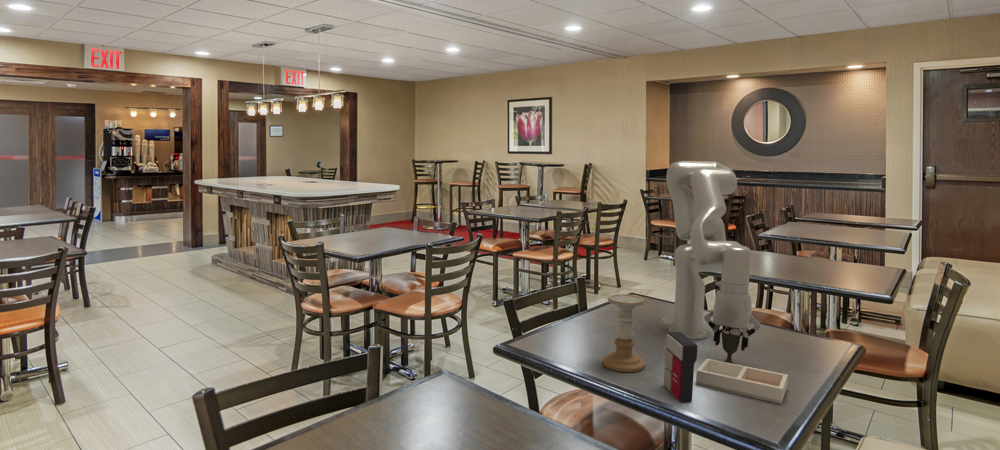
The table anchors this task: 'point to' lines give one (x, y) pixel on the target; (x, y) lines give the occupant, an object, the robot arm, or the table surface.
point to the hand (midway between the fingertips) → (730, 346)
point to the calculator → (680, 365)
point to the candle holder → (624, 336)
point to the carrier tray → (742, 380)
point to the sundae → (730, 341)
